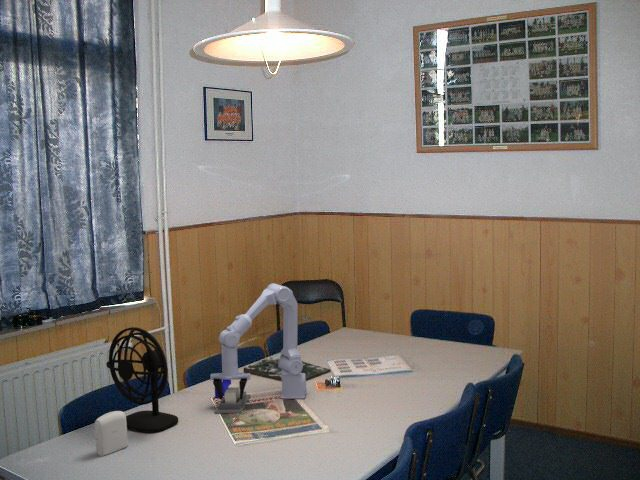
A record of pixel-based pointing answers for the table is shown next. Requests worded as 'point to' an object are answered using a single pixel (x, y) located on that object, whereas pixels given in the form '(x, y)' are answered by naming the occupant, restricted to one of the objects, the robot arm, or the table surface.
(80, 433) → the table surface
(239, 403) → the grey stepped block
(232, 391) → the light gray rectangular block
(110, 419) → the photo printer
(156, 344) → the desk fan
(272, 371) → the topographical map
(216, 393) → the cable clip
